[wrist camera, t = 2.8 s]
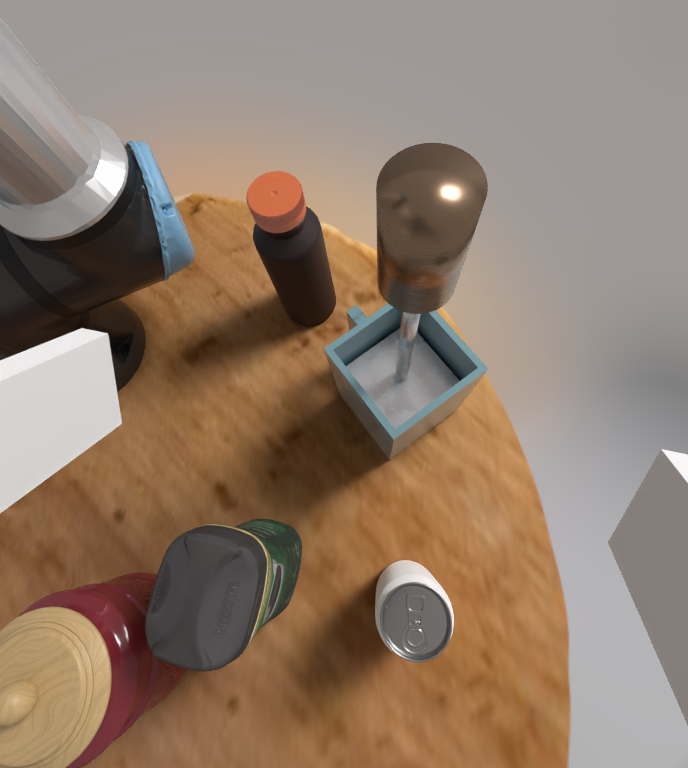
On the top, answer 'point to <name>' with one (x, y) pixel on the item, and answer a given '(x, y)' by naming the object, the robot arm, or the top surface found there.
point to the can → (412, 612)
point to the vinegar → (292, 247)
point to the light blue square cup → (370, 334)
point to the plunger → (419, 269)
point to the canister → (78, 673)
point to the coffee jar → (220, 591)
